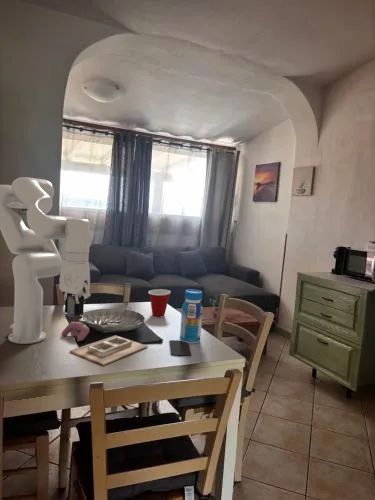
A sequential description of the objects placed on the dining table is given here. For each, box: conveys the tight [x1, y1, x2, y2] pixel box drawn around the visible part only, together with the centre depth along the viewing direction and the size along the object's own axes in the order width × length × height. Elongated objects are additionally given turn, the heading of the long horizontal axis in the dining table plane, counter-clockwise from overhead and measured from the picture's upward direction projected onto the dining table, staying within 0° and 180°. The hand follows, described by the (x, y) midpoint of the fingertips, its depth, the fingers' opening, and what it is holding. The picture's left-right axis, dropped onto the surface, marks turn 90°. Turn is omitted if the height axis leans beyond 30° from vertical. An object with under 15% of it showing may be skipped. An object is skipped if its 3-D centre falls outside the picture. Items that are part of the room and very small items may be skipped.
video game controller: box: [60, 321, 90, 343], centre depth 141 cm, size 10×5×7 cm, turn 60°
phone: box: [168, 339, 192, 357], centre depth 139 cm, size 7×1×15 cm
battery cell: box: [66, 294, 81, 318], centre depth 120 cm, size 4×4×7 cm
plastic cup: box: [148, 288, 171, 318], centre depth 179 cm, size 11×11×12 cm
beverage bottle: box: [179, 288, 204, 344], centre depth 147 cm, size 8×8×20 cm
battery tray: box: [69, 334, 148, 367], centre depth 132 cm, size 16×22×2 cm
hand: (73, 313), depth 120 cm, fingers closed on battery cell, 4 cm apart
